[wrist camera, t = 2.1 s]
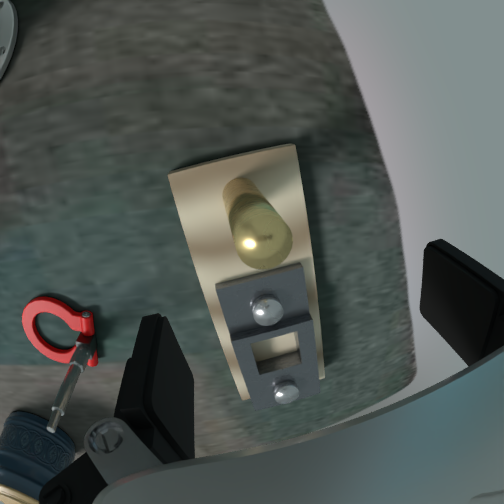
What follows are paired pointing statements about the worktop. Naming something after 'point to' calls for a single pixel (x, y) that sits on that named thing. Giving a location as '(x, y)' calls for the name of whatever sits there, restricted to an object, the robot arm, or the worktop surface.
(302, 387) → the riveted slotted plate
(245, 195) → the pin
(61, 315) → the tow hook
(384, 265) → the worktop surface
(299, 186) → the jig board
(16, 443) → the canister
